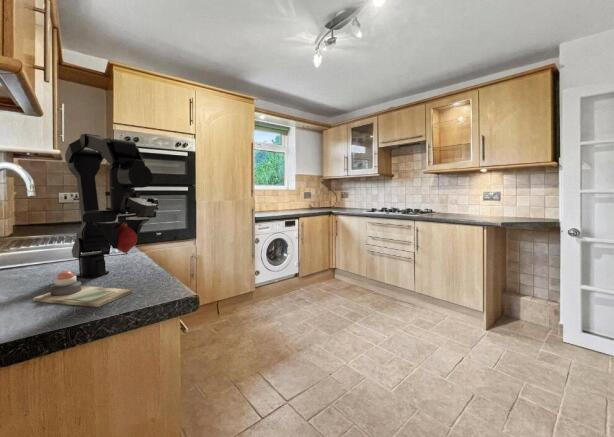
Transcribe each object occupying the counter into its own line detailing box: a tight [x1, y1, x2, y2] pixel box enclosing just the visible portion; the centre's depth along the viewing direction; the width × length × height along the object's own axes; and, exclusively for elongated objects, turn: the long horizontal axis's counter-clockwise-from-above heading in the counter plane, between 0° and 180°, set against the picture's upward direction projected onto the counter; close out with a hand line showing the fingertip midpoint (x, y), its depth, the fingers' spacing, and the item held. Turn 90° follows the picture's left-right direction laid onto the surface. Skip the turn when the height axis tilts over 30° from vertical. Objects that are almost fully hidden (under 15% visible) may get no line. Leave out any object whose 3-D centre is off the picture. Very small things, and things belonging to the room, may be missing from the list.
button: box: [54, 270, 78, 287], centre depth 73 cm, size 4×4×3 cm
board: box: [32, 280, 133, 308], centre depth 73 cm, size 18×10×3 cm, turn 79°
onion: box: [116, 222, 138, 254], centre depth 78 cm, size 6×6×8 cm
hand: (124, 246), depth 79 cm, fingers closed on onion, 6 cm apart
